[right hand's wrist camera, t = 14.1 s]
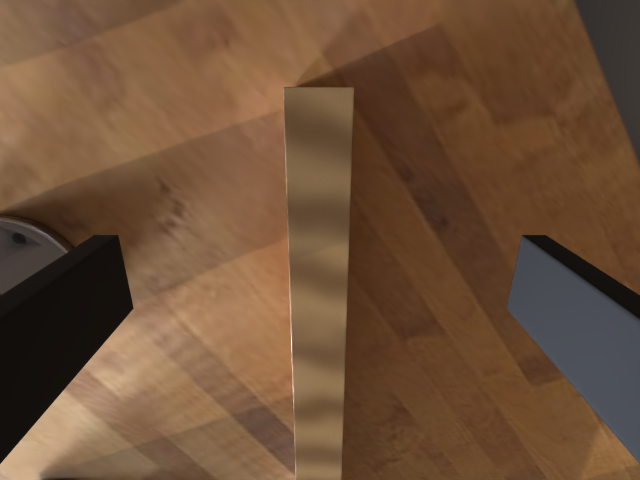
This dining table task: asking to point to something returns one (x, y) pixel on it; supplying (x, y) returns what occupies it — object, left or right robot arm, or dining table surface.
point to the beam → (318, 269)
